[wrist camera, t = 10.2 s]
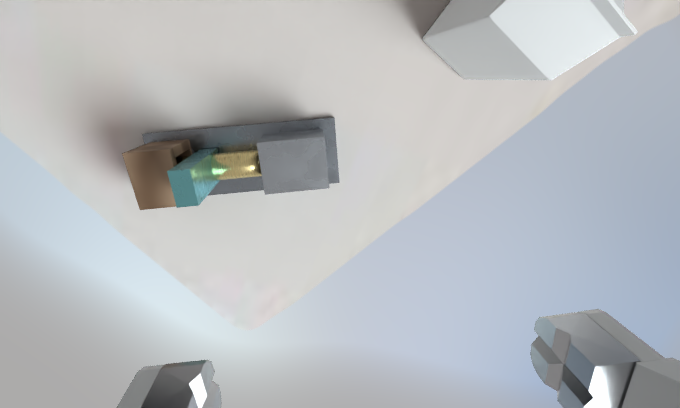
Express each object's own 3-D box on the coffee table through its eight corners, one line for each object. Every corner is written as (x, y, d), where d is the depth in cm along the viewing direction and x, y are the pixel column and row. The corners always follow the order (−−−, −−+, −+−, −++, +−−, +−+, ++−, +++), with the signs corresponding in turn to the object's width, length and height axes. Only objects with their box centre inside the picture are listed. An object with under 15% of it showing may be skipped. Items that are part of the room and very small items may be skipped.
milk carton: (464, 80, 39) (592, 81, 22) (420, 39, 37) (523, 4, 19) (507, 27, 38) (684, -19, 20) (464, -19, 36) (619, -115, 18)
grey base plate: (333, 117, 39) (338, 123, 34) (338, 181, 42) (343, 196, 37) (144, 133, 38) (116, 142, 32) (163, 198, 41) (140, 217, 35)
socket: (190, 138, 39) (168, 149, 33) (202, 186, 41) (183, 205, 35) (151, 141, 38) (122, 153, 32) (165, 190, 41) (139, 210, 35)
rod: (290, 141, 39) (284, 160, 30) (293, 170, 40) (289, 196, 31) (177, 151, 38) (138, 173, 29) (184, 180, 39) (149, 210, 31)
